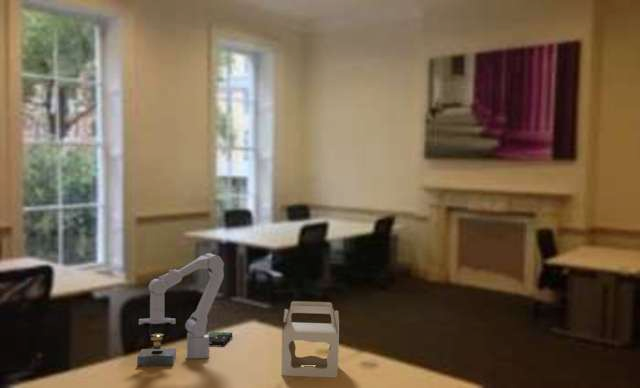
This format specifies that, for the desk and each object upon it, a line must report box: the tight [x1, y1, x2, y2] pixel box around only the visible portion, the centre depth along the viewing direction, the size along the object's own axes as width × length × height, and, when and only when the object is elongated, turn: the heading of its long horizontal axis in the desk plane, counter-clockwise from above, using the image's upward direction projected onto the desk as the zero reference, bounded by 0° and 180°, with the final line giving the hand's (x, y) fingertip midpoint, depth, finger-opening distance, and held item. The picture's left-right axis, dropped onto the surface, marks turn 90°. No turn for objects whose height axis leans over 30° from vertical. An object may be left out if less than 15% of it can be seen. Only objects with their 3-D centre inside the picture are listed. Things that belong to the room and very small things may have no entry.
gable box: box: [281, 300, 340, 379], centre depth 236 cm, size 22×13×28 cm, turn 86°
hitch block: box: [136, 348, 177, 367], centre depth 244 cm, size 14×10×4 cm
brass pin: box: [150, 333, 164, 349], centre depth 244 cm, size 6×6×5 cm
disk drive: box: [208, 331, 233, 347], centre depth 276 cm, size 10×3×15 cm
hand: (157, 341), depth 244 cm, fingers closed on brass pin, 5 cm apart
